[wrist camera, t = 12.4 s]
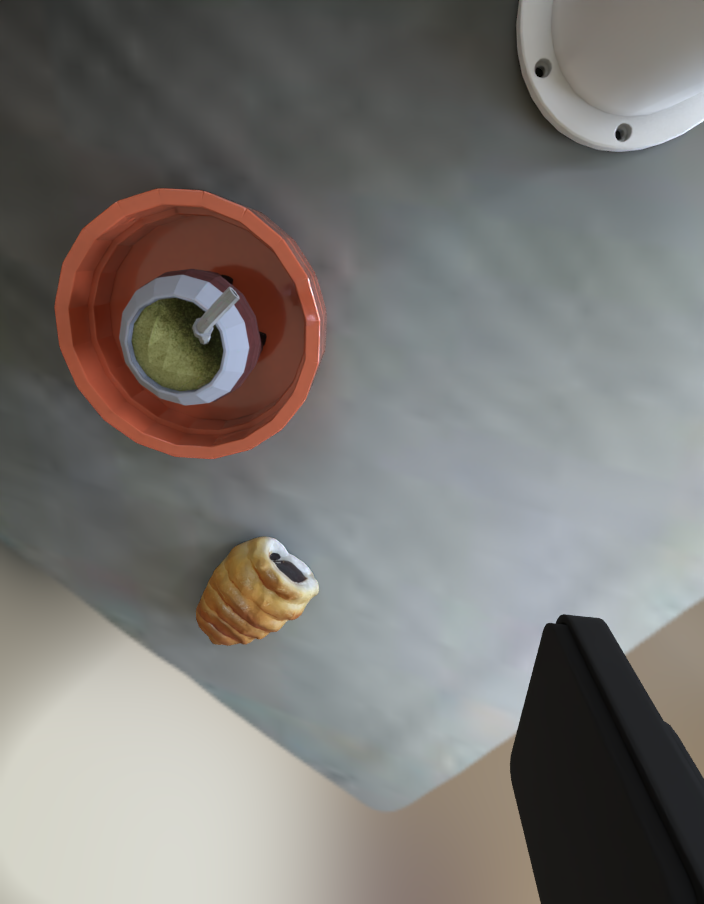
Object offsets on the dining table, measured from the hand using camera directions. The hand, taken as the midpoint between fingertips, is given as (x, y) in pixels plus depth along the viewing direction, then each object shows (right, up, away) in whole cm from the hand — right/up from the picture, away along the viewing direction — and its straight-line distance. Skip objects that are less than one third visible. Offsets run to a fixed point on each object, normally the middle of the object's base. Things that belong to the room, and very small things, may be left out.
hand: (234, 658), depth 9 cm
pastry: (-5, -7, +34) cm, 35 cm away
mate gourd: (-6, +11, +26) cm, 29 cm away
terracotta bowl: (-7, +11, +27) cm, 30 cm away
